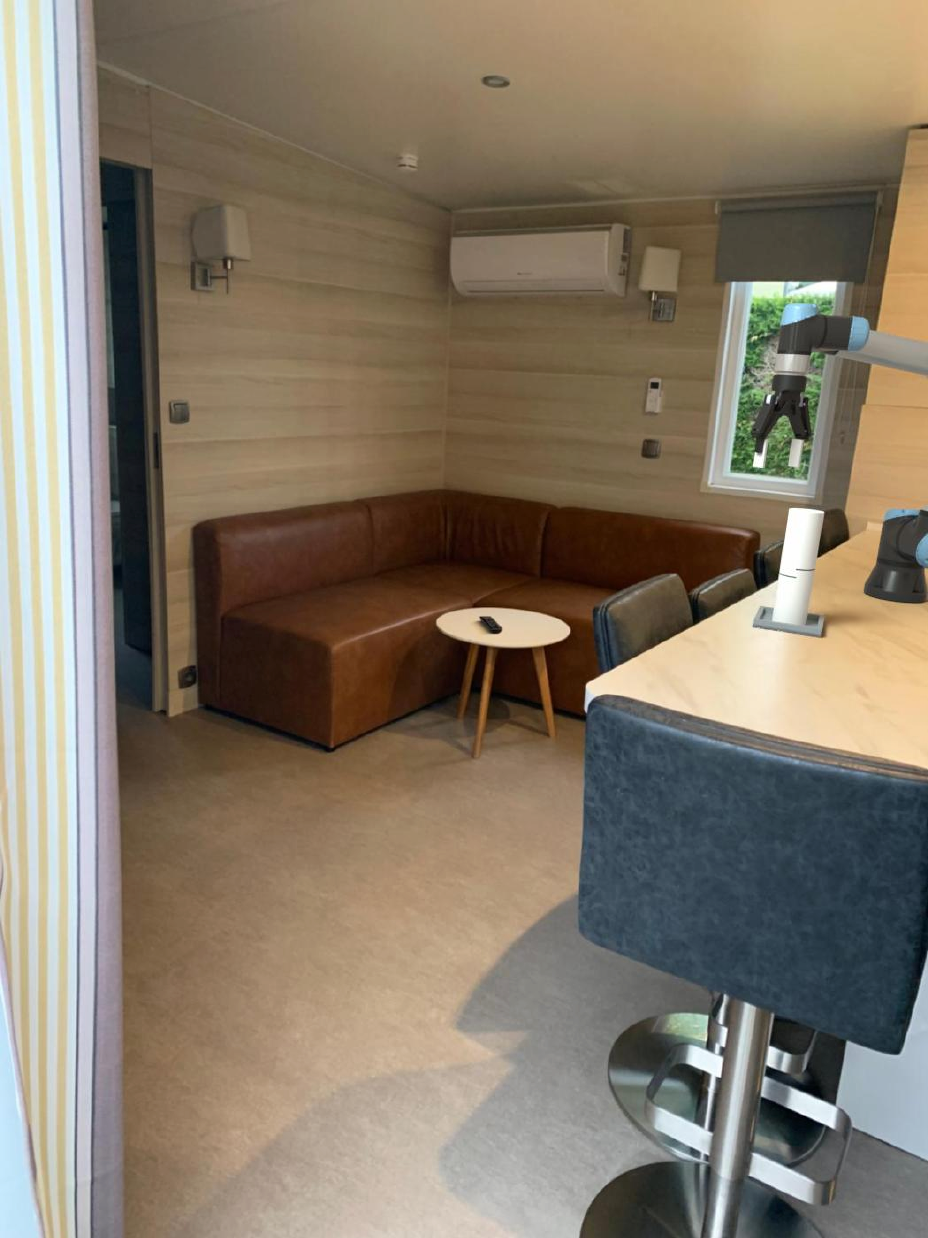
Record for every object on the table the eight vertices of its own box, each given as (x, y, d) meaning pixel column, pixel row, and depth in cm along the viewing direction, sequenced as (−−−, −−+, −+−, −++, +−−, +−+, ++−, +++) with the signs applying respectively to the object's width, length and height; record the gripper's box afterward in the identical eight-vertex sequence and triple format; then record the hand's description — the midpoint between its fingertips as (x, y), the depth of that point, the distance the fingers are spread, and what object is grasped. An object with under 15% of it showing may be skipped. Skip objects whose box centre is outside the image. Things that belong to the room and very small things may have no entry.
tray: (823, 622, 202) (824, 615, 201) (820, 637, 189) (821, 629, 189) (759, 613, 207) (760, 605, 207) (752, 626, 195) (753, 619, 194)
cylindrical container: (808, 628, 194) (827, 514, 188) (774, 624, 195) (791, 511, 189) (802, 619, 201) (821, 509, 194) (770, 616, 202) (787, 506, 196)
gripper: (808, 376, 215) (794, 464, 221) (743, 370, 201) (729, 465, 207) (836, 377, 209) (821, 468, 215) (771, 371, 195) (756, 469, 201)
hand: (776, 467), depth 211 cm, fingers open, 13 cm apart
